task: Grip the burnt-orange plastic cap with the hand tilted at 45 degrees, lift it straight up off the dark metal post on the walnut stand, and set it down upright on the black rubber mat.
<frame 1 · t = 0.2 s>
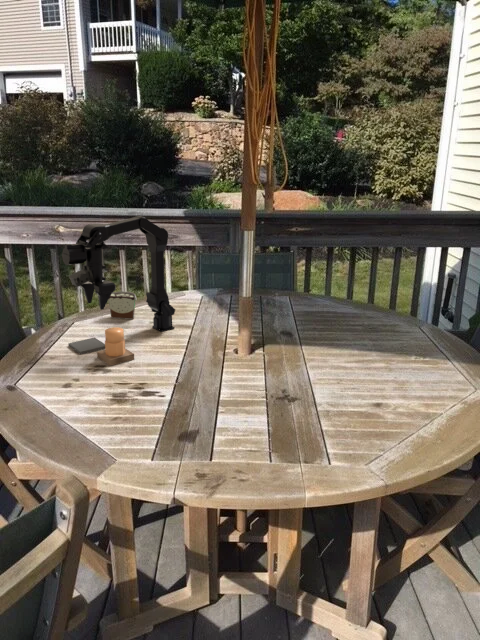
hand: (95, 306, 188), 14 cm above the table, tool pointing down, fingers open, 9 cm apart
mat: (87, 347, 190), on the table
post stand: (115, 358, 181), on the table
cap: (115, 352, 180), point 2 cm above the table, touching post stand
food container: (124, 316, 223), on the table
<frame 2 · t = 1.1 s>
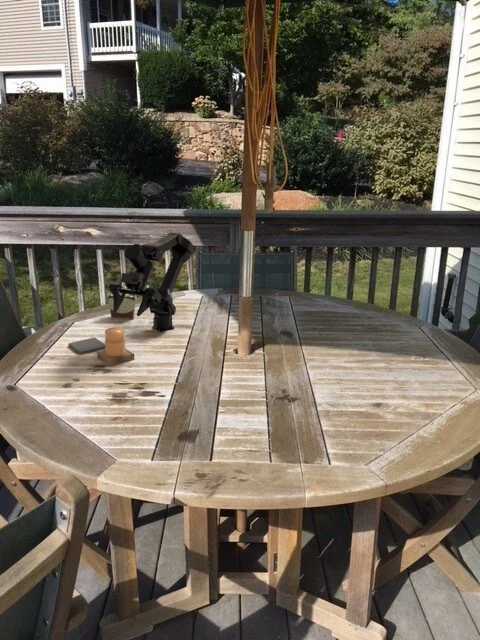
hand: (125, 314, 183), 13 cm above the table, tool tilted 45°, fingers open, 9 cm apart
nothing on the table moved.
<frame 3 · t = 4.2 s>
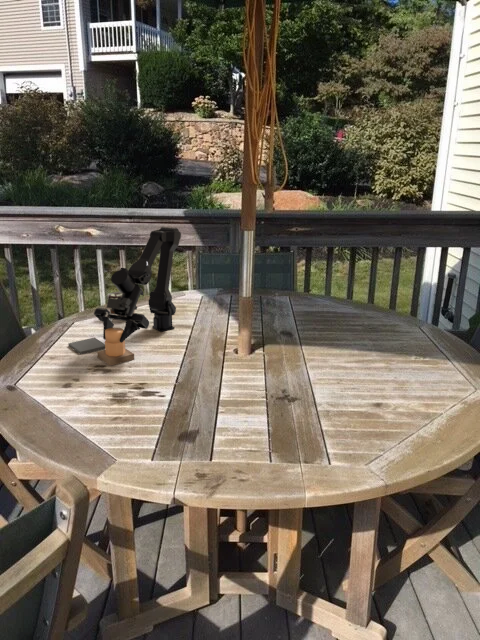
hand: (112, 340, 178), 7 cm above the table, tool tilted 45°, fingers closed on cap, 6 cm apart
cap: (115, 352, 180), point 2 cm above the table, touching gripper, post stand
everything else where it was.
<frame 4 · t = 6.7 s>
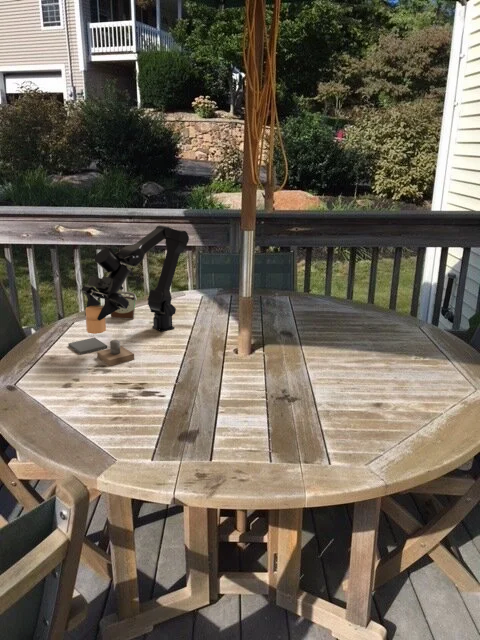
hand: (92, 317, 180), 13 cm above the table, tool tilted 45°, fingers closed on cap, 6 cm apart
cap: (96, 330, 183), point 8 cm above the table, touching gripper
everything else where it was.
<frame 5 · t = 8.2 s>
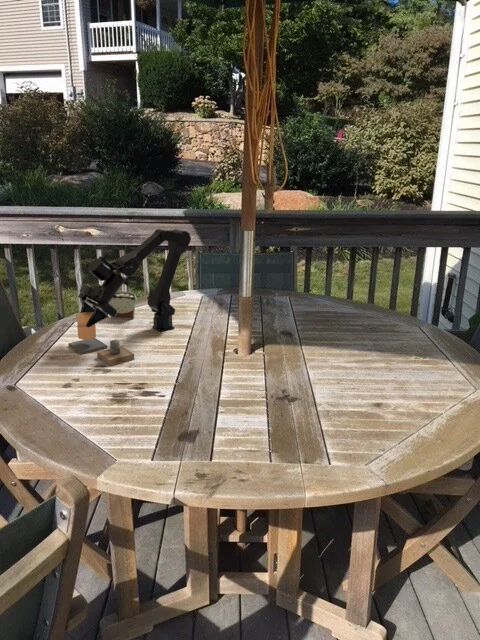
hand: (82, 324, 186), 9 cm above the table, tool tilted 45°, fingers closed on cap, 6 cm apart
cap: (87, 336, 189), point 4 cm above the table, touching gripper
everything else where it was.
when the fingers open (7 cm above the table, at t = 9.4 s): cap drops 1 cm, resting on mat.
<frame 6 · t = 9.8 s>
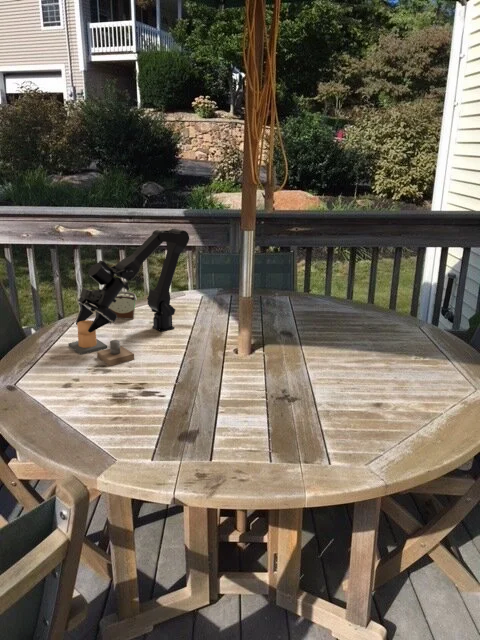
hand: (82, 328, 187), 7 cm above the table, tool tilted 45°, fingers open, 9 cm apart
cap: (87, 344, 190), point 1 cm above the table, touching mat
everything else where it was.
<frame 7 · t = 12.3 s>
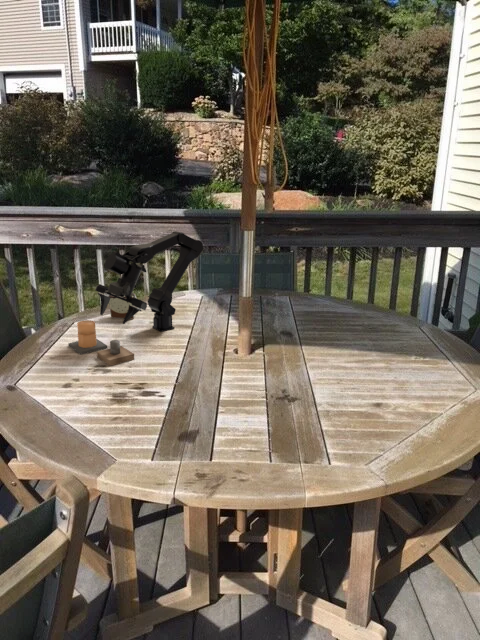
hand: (112, 319, 192), 9 cm above the table, tool tilted 30°, fingers open, 9 cm apart
nothing on the table moved.
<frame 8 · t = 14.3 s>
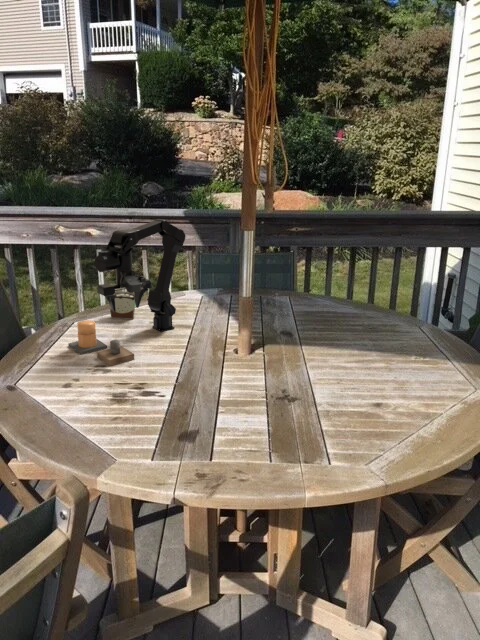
hand: (125, 309, 192), 12 cm above the table, tool pointing down, fingers open, 9 cm apart
nothing on the table moved.
at the end: cap 0.0 cm off-centre on the mat, point 1.0 cm above the mat's base; cap tilted 0°; the gripper is holding nothing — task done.
